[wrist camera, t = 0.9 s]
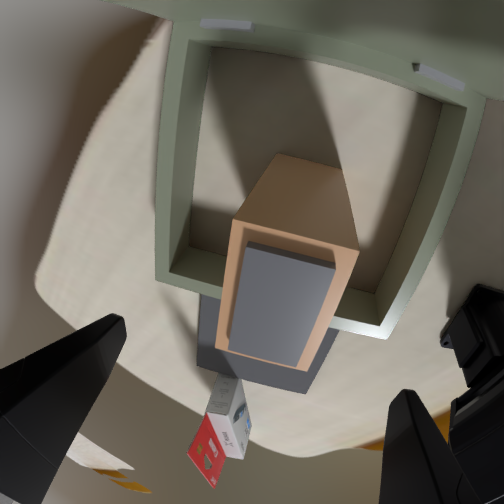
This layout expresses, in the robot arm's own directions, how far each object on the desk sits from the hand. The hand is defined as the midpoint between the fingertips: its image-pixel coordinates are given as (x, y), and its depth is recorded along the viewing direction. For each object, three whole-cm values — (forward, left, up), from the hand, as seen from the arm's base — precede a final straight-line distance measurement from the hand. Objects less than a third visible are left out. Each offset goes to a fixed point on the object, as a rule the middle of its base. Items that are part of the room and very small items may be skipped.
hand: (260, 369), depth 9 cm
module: (0, 0, -13) cm, 13 cm away
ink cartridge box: (+1, +23, -13) cm, 27 cm away
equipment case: (0, -2, -13) cm, 13 cm away
